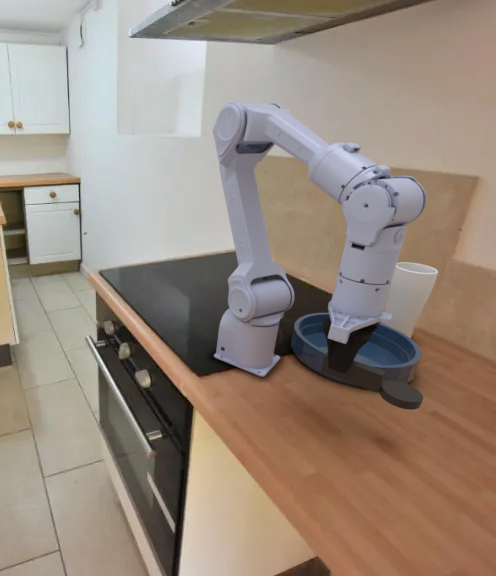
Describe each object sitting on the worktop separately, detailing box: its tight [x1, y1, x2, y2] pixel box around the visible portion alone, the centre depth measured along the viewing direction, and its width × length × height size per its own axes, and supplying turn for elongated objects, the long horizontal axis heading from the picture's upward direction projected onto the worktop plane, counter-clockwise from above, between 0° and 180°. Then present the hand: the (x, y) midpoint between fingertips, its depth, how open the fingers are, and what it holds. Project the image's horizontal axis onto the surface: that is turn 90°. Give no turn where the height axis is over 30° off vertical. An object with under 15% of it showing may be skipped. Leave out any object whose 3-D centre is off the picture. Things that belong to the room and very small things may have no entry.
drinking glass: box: [382, 261, 439, 339], centre depth 75 cm, size 7×7×15 cm
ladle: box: [321, 352, 424, 411], centre depth 51 cm, size 12×4×3 cm, turn 47°
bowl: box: [290, 312, 423, 390], centre depth 69 cm, size 20×20×4 cm
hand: (338, 366), depth 53 cm, fingers closed on ladle
